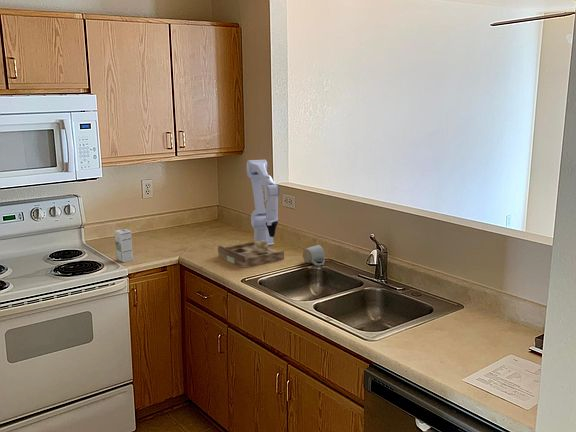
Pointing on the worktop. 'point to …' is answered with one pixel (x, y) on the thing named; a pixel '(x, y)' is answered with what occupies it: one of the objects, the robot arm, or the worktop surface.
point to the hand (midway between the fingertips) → (272, 236)
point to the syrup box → (123, 245)
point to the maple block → (261, 246)
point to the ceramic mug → (314, 255)
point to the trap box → (248, 255)
